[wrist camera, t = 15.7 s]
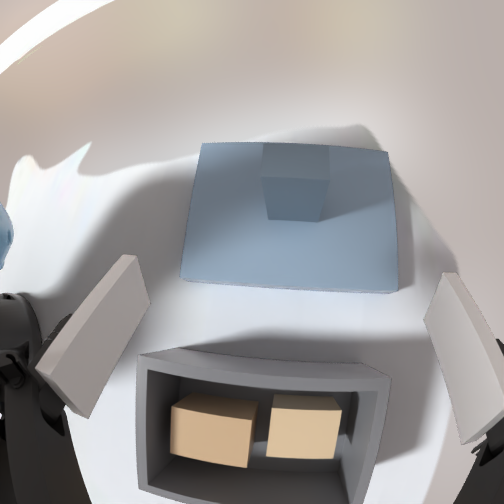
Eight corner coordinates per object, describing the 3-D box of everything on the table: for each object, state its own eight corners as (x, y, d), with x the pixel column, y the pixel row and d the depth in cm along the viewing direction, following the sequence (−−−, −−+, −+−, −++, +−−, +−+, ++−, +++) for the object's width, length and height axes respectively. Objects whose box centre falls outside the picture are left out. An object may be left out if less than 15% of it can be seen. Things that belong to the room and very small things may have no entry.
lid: (188, 281, 31) (137, 257, 20) (207, 155, 35) (178, 92, 23) (388, 293, 28) (441, 275, 17) (381, 163, 32) (412, 102, 21)
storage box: (171, 455, 26) (138, 488, 18) (176, 347, 29) (137, 354, 21) (343, 473, 24) (358, 515, 15) (362, 362, 27) (391, 377, 18)
